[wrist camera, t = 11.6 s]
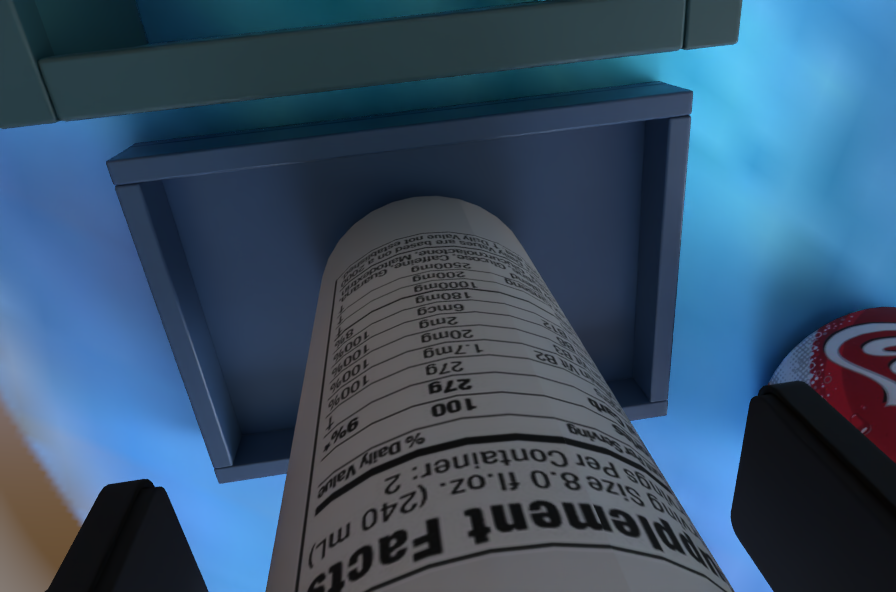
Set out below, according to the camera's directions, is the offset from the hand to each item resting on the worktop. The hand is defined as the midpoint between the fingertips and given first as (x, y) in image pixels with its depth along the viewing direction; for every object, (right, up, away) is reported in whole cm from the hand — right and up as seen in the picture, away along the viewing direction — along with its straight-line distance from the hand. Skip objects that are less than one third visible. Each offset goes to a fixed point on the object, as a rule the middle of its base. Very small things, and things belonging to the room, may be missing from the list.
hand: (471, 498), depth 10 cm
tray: (-1, +4, +9) cm, 10 cm away
